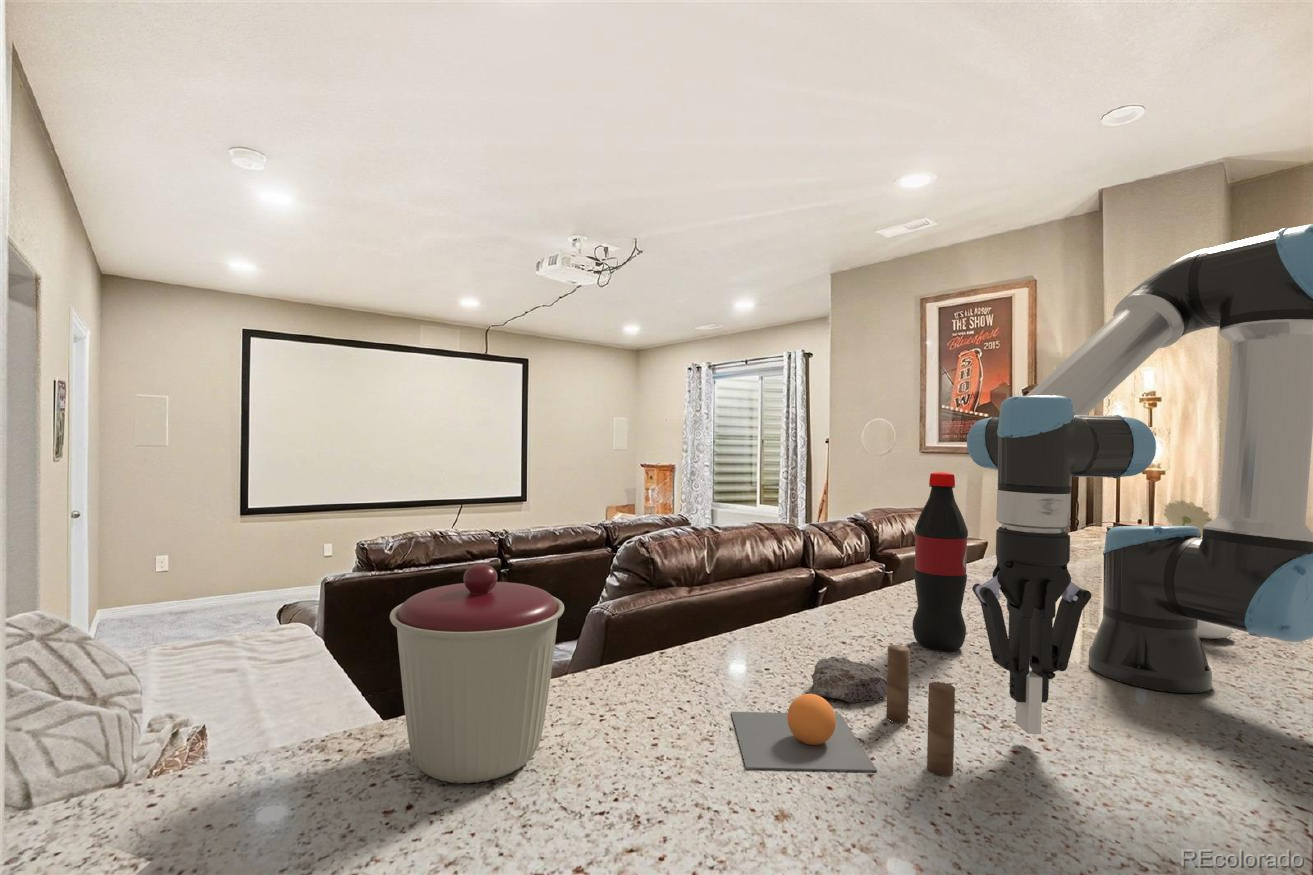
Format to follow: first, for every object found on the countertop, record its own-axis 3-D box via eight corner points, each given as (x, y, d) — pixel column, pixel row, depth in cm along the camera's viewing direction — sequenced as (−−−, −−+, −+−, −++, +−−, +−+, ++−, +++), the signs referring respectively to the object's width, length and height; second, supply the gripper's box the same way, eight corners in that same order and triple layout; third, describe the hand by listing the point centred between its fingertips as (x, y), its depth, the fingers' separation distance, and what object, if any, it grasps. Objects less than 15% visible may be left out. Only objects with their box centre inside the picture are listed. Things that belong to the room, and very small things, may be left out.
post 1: (903, 714, 84) (904, 645, 84) (911, 723, 82) (912, 651, 82) (883, 714, 84) (884, 644, 84) (890, 723, 82) (892, 651, 82)
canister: (500, 824, 59) (505, 591, 59) (346, 783, 65) (350, 573, 65) (589, 738, 76) (592, 557, 76) (460, 712, 82) (463, 545, 82)
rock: (896, 698, 90) (896, 669, 90) (832, 710, 86) (832, 679, 86) (854, 676, 98) (854, 649, 98) (793, 686, 94) (793, 658, 94)
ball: (773, 708, 79) (803, 741, 79) (783, 728, 73) (816, 764, 73) (806, 677, 79) (836, 710, 79) (819, 694, 73) (852, 730, 73)
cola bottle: (968, 644, 114) (972, 472, 114) (961, 658, 107) (965, 474, 107) (917, 635, 118) (920, 470, 118) (907, 648, 111) (911, 472, 111)
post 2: (946, 764, 72) (948, 682, 72) (957, 776, 69) (959, 691, 69) (922, 763, 72) (924, 681, 72) (933, 776, 69) (934, 691, 69)
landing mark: (840, 715, 84) (840, 713, 84) (877, 771, 70) (877, 770, 70) (731, 713, 84) (731, 711, 84) (745, 769, 70) (746, 767, 70)
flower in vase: (1250, 645, 117) (1253, 505, 117) (1185, 643, 117) (1188, 504, 117) (1191, 623, 130) (1194, 498, 130) (1133, 622, 130) (1136, 497, 130)
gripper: (993, 531, 73) (988, 742, 73) (1110, 533, 73) (1105, 745, 73) (961, 522, 80) (957, 713, 80) (1068, 524, 80) (1063, 716, 80)
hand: (1028, 728), depth 77 cm, fingers closed
